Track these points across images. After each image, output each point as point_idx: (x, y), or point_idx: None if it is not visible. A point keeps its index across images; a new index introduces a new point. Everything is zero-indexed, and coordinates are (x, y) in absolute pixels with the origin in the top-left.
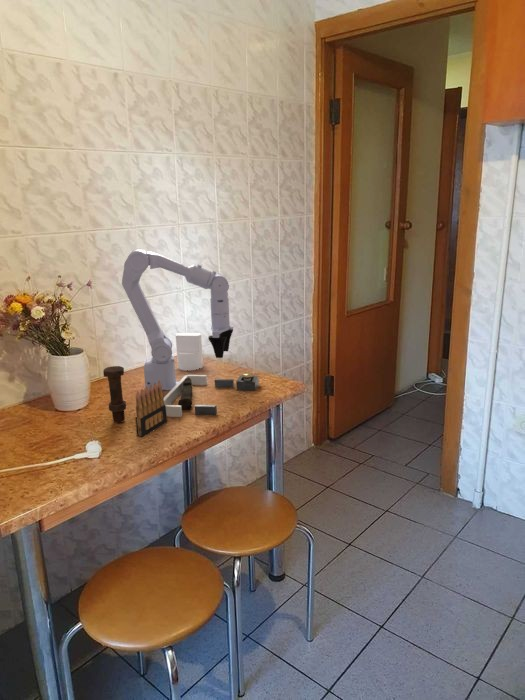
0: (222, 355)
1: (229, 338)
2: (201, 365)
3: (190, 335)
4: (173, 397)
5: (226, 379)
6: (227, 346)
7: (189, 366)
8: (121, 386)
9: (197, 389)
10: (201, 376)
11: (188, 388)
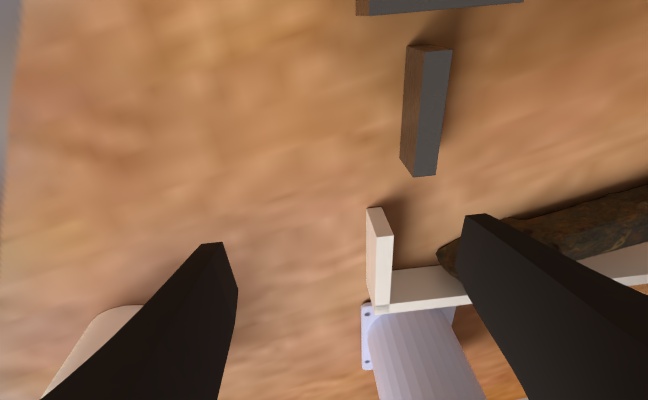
0: (508, 225)
1: (134, 392)
2: (133, 314)
3: None
4: (584, 260)
5: (429, 106)
6: (206, 286)
7: None
8: None
9: (442, 220)
10: (391, 252)
11: (603, 239)
